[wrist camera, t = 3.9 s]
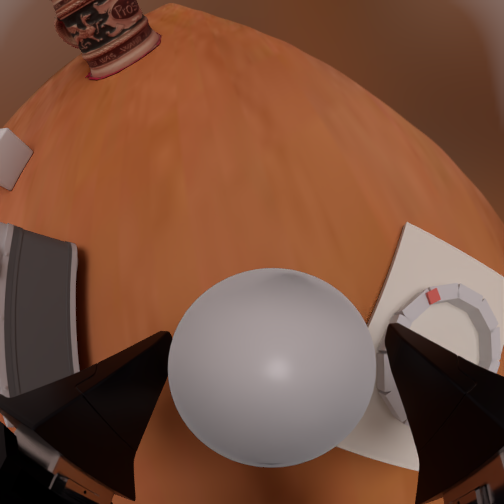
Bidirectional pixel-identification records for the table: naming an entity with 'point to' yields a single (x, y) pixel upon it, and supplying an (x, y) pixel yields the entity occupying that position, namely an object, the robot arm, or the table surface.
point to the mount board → (427, 331)
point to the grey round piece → (272, 367)
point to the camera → (36, 310)
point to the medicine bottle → (12, 158)
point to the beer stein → (105, 33)
